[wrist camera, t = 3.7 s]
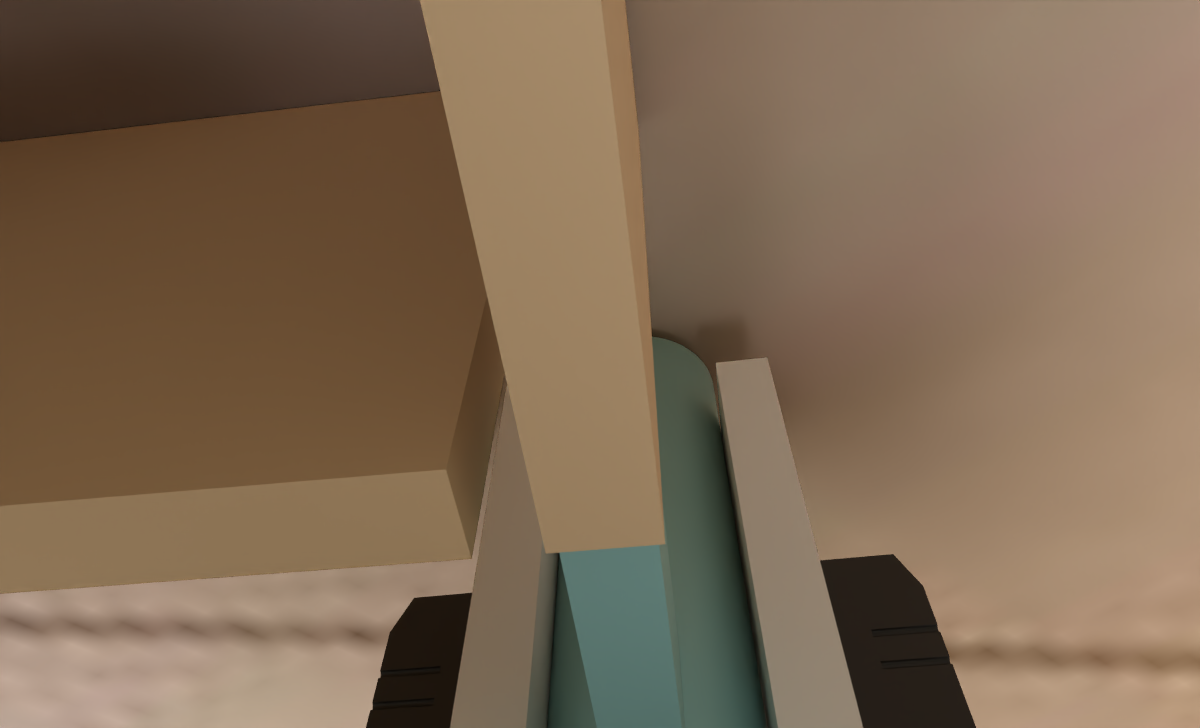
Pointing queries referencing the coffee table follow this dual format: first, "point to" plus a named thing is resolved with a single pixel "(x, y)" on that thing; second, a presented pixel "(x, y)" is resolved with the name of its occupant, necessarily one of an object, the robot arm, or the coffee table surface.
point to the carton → (241, 348)
